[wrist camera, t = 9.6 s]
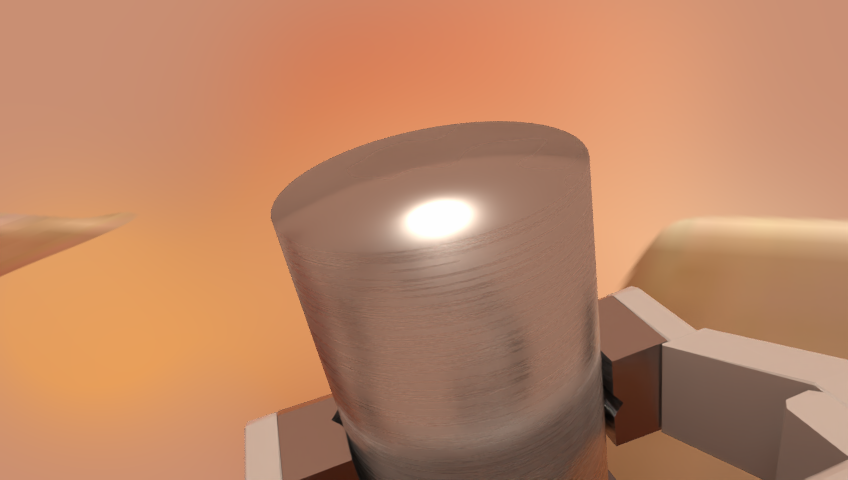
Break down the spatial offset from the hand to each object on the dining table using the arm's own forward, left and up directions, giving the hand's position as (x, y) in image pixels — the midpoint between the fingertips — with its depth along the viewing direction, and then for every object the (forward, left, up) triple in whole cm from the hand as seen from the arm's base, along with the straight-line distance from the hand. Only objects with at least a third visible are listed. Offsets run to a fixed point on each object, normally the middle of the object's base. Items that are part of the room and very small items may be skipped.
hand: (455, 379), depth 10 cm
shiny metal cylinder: (0, -1, -6) cm, 6 cm away
